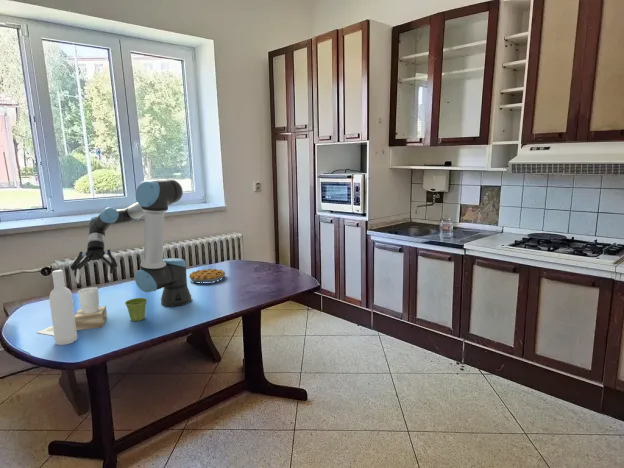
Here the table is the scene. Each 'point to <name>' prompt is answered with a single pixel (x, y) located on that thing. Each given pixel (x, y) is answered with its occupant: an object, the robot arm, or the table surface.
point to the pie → (207, 275)
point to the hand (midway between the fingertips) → (93, 280)
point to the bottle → (62, 311)
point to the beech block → (90, 319)
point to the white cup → (89, 300)
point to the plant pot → (136, 308)
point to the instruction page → (47, 331)
